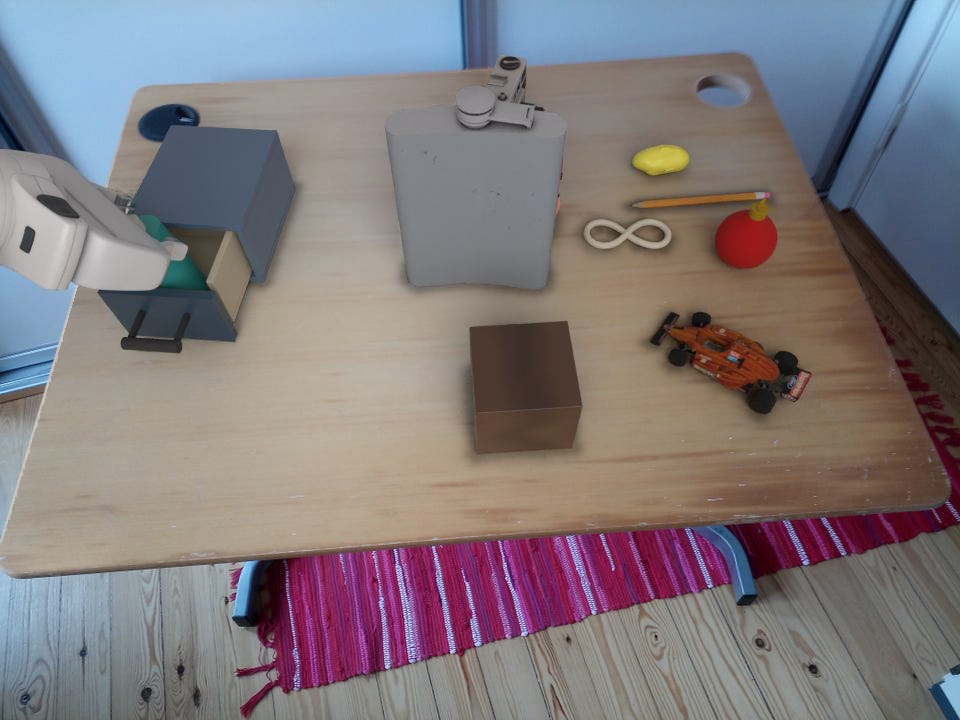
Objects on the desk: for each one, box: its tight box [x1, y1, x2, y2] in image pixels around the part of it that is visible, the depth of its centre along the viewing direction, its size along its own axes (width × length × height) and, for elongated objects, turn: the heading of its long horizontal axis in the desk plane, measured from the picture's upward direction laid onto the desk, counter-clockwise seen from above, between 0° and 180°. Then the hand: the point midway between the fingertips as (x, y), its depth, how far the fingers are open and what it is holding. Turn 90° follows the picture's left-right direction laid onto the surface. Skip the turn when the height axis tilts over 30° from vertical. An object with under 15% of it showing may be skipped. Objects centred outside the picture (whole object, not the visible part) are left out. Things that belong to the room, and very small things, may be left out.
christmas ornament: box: [714, 198, 779, 270], centre depth 80 cm, size 7×7×10 cm
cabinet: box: [132, 124, 296, 283], centre depth 83 cm, size 17×14×10 cm
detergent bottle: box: [128, 214, 211, 291], centre depth 73 cm, size 6×6×12 cm
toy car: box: [649, 311, 813, 415], centre depth 74 cm, size 8×16×4 cm, turn 53°
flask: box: [383, 85, 567, 291], centre depth 72 cm, size 17×5×25 cm, turn 88°
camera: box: [484, 54, 546, 112], centre depth 92 cm, size 14×9×10 cm, turn 156°
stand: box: [468, 320, 584, 455], centre depth 69 cm, size 10×10×9 cm
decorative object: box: [582, 218, 672, 250], centre depth 86 cm, size 11×1×5 cm
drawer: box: [97, 227, 253, 354], centre depth 76 cm, size 20×12×8 cm, turn 175°
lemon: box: [631, 144, 691, 176], centre depth 91 cm, size 4×8×4 cm, turn 92°
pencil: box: [629, 191, 771, 209], centre depth 89 cm, size 1×1×19 cm
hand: (156, 226), depth 69 cm, fingers open, 8 cm apart
